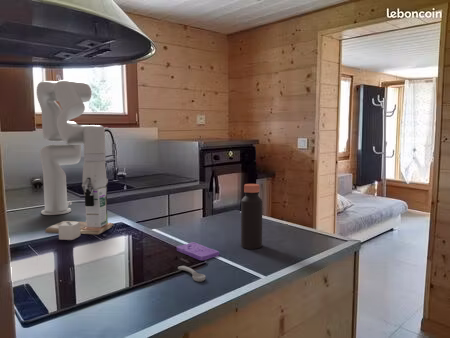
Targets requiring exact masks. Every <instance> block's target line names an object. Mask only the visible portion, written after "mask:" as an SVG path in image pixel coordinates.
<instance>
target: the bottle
mask: <svg viewBox="0 0 450 338" xmlns="http://www.w3.org/2000/svg"><path fill="white" fill-rule="evenodd" d="M260 187H261V186H260V184H259V183H258V184H257V183H245V184H244V185H243V194H244V196H243V198H242V199H241V201H240V246H241V247H242V248H244V249H247V250H257V249H261V248H262V247H263V200H262V198H261V197H260V196H259V194H260Z"/></svg>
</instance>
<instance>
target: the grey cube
mask: <svg viewBox="0 0 450 338" xmlns="http://www.w3.org/2000/svg"><path fill="white" fill-rule="evenodd" d="M80 222H81V221H77V222H66V223H63V224H61V225H58V227H59V233H58V240H61V241H62V240H65V241H66V240H67V241H72V240H75V239H77V238H79V237H81V234H80Z"/></svg>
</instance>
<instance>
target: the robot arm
mask: <svg viewBox="0 0 450 338" xmlns="http://www.w3.org/2000/svg"><path fill="white" fill-rule="evenodd" d="M36 98H37V101H38V103H39V107H40V111H41V127H42V136H43V140H44V141H47V142H54V143H55V142H56V143H57V142H61V143H65V144H48V145H47V144H46V145H43V146H42V147H41V148H40V150H39V157H40V158H39V159H40V162H41V167H42V169H41V170H42V177H43V181H42V182H43V199H44V209H42V210H41V212H40V213H41V214H42V215H45V216H56V215H58V216H59V215H65V214H68V213H70V212H72V208H70V207H69V206H71V205H72V204H73V201H72V200H68V195H67V194H68V192H67V189H68V188H67V174H66V172H65V170H63V168H62V167H61V166H67V165H77V164H78V163H79V162H80V161H81V158H82V151H81V150H82V145H83V162H84V163H83V167H82V184H81V187H82V192H83V196H84V203H85V204H84V206H94V195H93V192H94V190H95V189H99V188H102V187H105V188H106V200H107V201H108V193H107V191H108V187H109V186H108V183H109V178H107V170H106V169H107V168H106V167H107V166H106V162H107V161H106V160H107V159H106V134H105V133H106V131H105V127H104V126H103V125H99V124H98V125H97V124H96V125H95V124H90V125H89V124H78V123H77V122H75V121H71V120H74V119H76V118H79V117H80V116H82V115H83V114H84V112H85V110H86V107H85V104H84V103H87V102H89V101H90V100H91V98H92V88H91V87H90V84H88V83H86V82H85V81H82V80H81V81H79V80H71V79H62V80H58V81H55V80H54V81H53V80H44V81H39V83H38V84H37V86H36ZM57 102H58V103H57ZM89 190H91V191H89Z"/></svg>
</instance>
